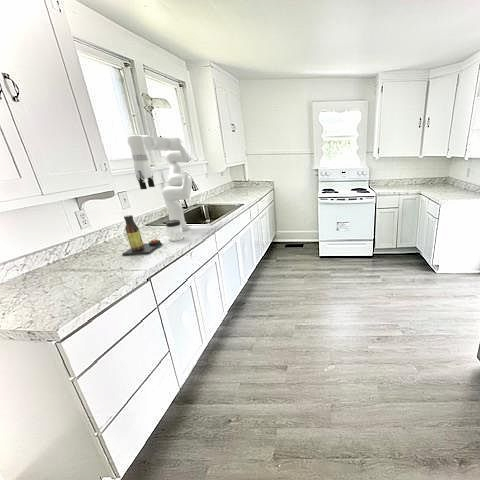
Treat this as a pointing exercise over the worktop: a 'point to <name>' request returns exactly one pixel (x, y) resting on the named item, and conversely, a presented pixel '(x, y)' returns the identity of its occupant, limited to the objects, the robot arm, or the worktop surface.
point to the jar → (174, 230)
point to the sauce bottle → (133, 233)
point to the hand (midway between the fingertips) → (148, 188)
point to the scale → (144, 249)
